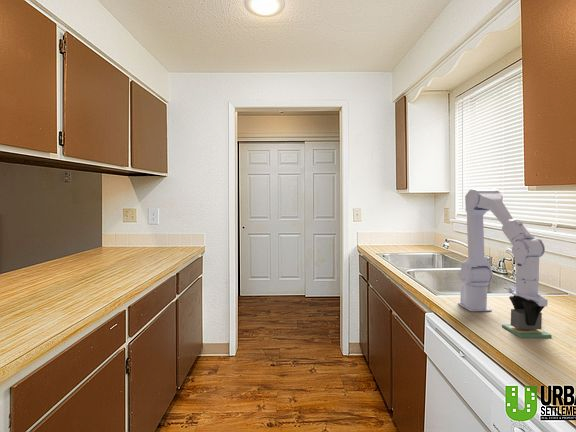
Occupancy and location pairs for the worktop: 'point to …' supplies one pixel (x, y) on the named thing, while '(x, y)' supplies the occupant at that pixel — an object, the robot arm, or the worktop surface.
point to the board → (527, 332)
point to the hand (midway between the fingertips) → (525, 322)
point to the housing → (523, 320)
